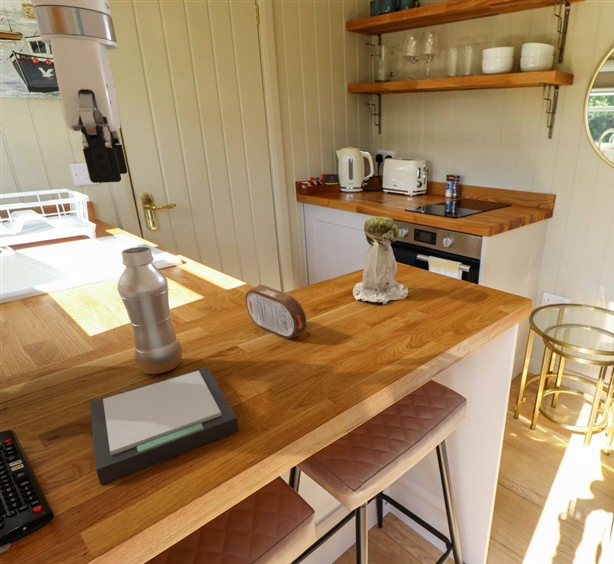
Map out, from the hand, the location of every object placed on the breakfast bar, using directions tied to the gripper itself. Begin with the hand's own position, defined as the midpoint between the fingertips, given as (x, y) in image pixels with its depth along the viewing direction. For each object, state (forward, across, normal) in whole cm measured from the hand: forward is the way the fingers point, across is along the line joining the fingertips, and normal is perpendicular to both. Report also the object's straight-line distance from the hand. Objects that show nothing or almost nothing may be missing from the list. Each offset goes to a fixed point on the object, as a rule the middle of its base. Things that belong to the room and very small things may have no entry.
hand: (111, 177), depth 57 cm
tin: (+31, -6, +20) cm, 37 cm away
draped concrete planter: (+31, -15, +46) cm, 58 cm away
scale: (+31, +14, +1) cm, 34 cm away
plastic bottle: (+31, -1, +1) cm, 31 cm away
